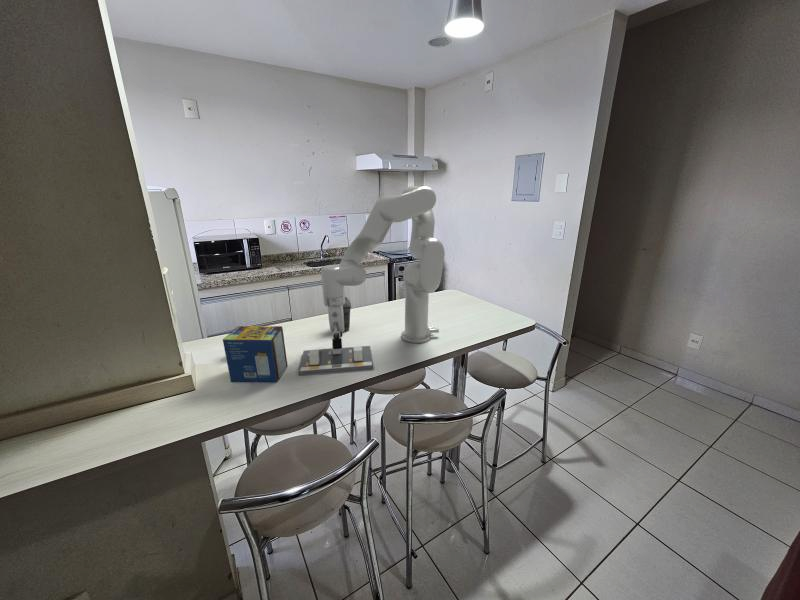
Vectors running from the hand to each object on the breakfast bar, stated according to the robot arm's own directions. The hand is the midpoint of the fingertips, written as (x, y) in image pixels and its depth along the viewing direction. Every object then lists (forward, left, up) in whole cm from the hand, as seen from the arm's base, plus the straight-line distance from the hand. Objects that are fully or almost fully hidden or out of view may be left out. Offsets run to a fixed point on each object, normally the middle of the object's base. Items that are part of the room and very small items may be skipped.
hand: (337, 342), depth 122 cm
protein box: (+26, +11, -5) cm, 29 cm away
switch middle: (0, +3, -3) cm, 4 cm away
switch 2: (-7, +9, -3) cm, 12 cm away
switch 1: (+8, +9, -3) cm, 12 cm away
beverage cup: (-2, -21, -5) cm, 22 cm away
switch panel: (0, +6, -4) cm, 7 cm away
